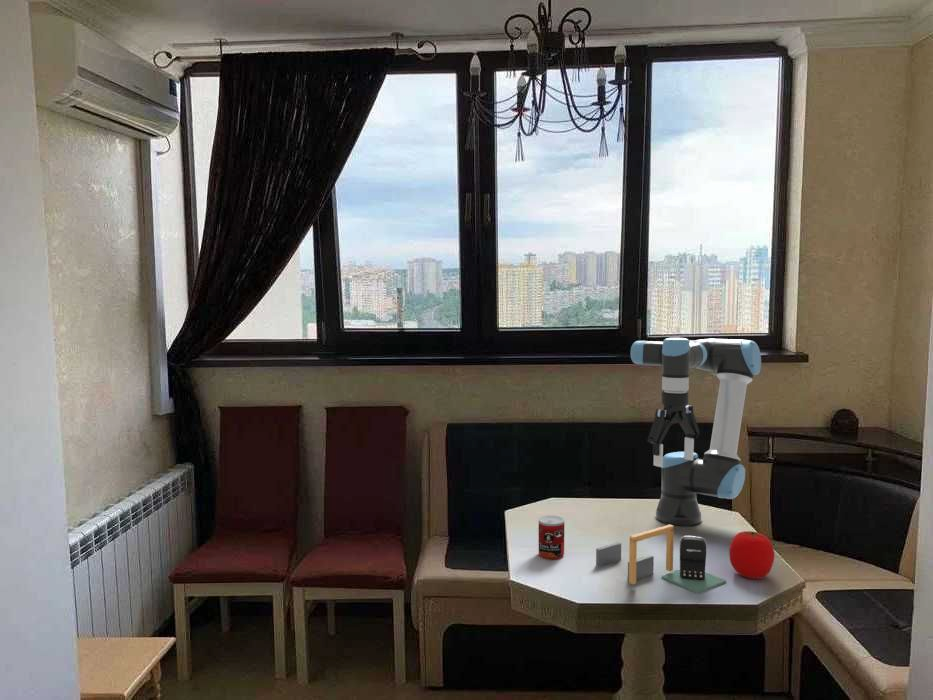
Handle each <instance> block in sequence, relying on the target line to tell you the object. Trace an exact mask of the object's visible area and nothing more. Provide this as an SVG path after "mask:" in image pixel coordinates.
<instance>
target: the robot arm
mask: <svg viewBox="0 0 933 700" xmlns="http://www.w3.org/2000/svg"><path fill="white" fill-rule="evenodd" d="M630 359H631V361H632V363H633V364H636V365H641V366H656V367H657V366H658V367H662V368H661V371H662V373H661V389H662V392H661V404H662V405H663V409H658V408H656V410H655V416H654V419H653V422H652V425H651V429H650V431H649V434H648V437H647V442H648V443H650V444H652V455H653V466H655V467H658V468H661V493H660V498H659V500H658V504H657V508H656V510H655V518H656V519H657V520H658V521H660V522H662V523H665V524H667V525H669V524H670V525H673V526H695V525H698V524H700V523H701V522H702V513H701V510H700V506H699V503H698V500H697V494H699V495H704V496H709V497H710V496H711V497H715V498H719V499H727V500H733V499H735V498H737V496H739V494H740V493H741V491H742V489H743V488H744V487H743V486H744V483H745V479H746V468H745V466H744V465H742V464H741V458H740V457H739V455H738V454H737V453H738V448H739V440H740V433H741V426H742V420H743V413H744V407H745V401H746V395H747V394H746V393H747V386H748V385H749V384H750V383H751V382H753V379H754V376H757V375H759V374H760V371H762V370H761V369H762V355H761V351H760V347H759V346H758V344H757V343H756V342H755V341H754V340H750V339H749V340H748V339H742V338H741V339H736V338H735V339H733V338H730V339H728V338H704V339H703V338H702V339H696V340H693V339H692V340H691V339H688V338H685V337H668V338H665V339H663V341H653V340H649V341H648V340H636V341H634V342H633V343H632V345H631V347H630ZM690 369H696V370H698V369H699V370H702V371H705V372H706V371H707V372H714V373H716V375H715V376H716V377H717V379H718V380H719V387H718V393H717V399H716V407H715V412H714V413H715V414H714V420H713V426H712V433H711V439H710V445H709V449H708V450H707V451H705V452H703V453H704V454H703V458H699V455H698V453H696V452H695V450H694V449H695V439H698V438H699V435H700V434H701V433H700V429H699V426H698V423H697V420H696V417H695V413H694V406H693V405H689V392H688V391H689V390H690V388H689V387H690ZM677 423H678V424H679V426H680V427H681V429H682V431H683V432H684V434H685V435H686V436H685V437H684V447H683V448H684V450H683V451H676V452H675V451H673V452H669V453H666V454H665V455H664V444H663V440H664V439H665V438H666V437H665V436H666V435H667V433H668V431H669V430H670V427H672V426H673V425H675V424H677ZM663 455H664V456H663Z"/></svg>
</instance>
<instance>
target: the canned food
mask: <svg viewBox="0 0 933 700" xmlns="http://www.w3.org/2000/svg"><path fill="white" fill-rule="evenodd" d="M538 554H539V557H540V558H542V559H544V560H549V561H554V560H559V559H562V558H563V557H564V555H565V519H564V517H561V516H558V515H545V516H541V517H539V519H538Z"/></svg>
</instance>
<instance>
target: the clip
mask: <svg viewBox="0 0 933 700" xmlns="http://www.w3.org/2000/svg"><path fill="white" fill-rule="evenodd" d="M595 552H596V553H595V556H596V557H595V565H596V566H597V567H599V566H600V567H602V565H603V566H605V565H609V564H612V563H615V562H618V561H621V560H622V542H619V541H617V542H614V543H610V544H607V545H604V546H600V547H597V548H596V550H595ZM654 559H655V557H654V555H652V554H649V555H646V556H643V557H640V558H636V580H638V579H641V578H645V577H647V576H650V575H653V574H654ZM627 581H629V561H628V562H627Z"/></svg>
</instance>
